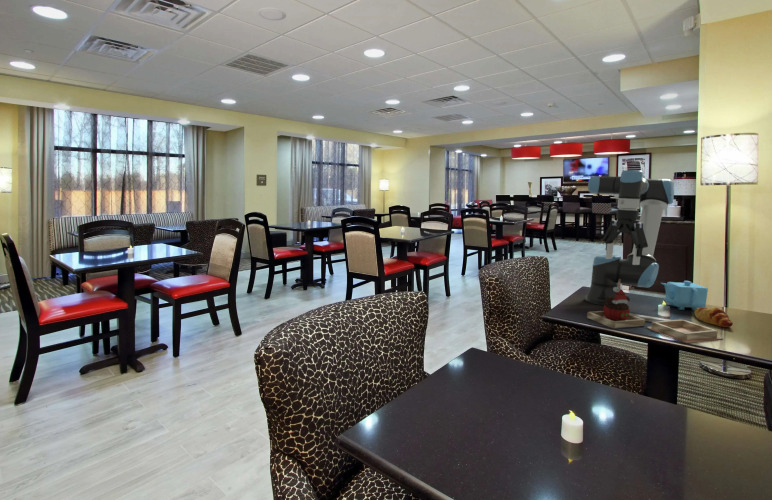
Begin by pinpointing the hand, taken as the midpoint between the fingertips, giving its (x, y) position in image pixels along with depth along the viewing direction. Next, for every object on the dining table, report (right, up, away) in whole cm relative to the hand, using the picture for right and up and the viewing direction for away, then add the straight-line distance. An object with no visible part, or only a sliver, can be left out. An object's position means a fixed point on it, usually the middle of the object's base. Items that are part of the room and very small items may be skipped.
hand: (621, 261), depth 174 cm
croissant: (+43, -26, +8) cm, 51 cm away
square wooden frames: (+9, -26, -2) cm, 28 cm away
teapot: (+43, -23, +29) cm, 57 cm away
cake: (-1, -25, +4) cm, 26 cm away
